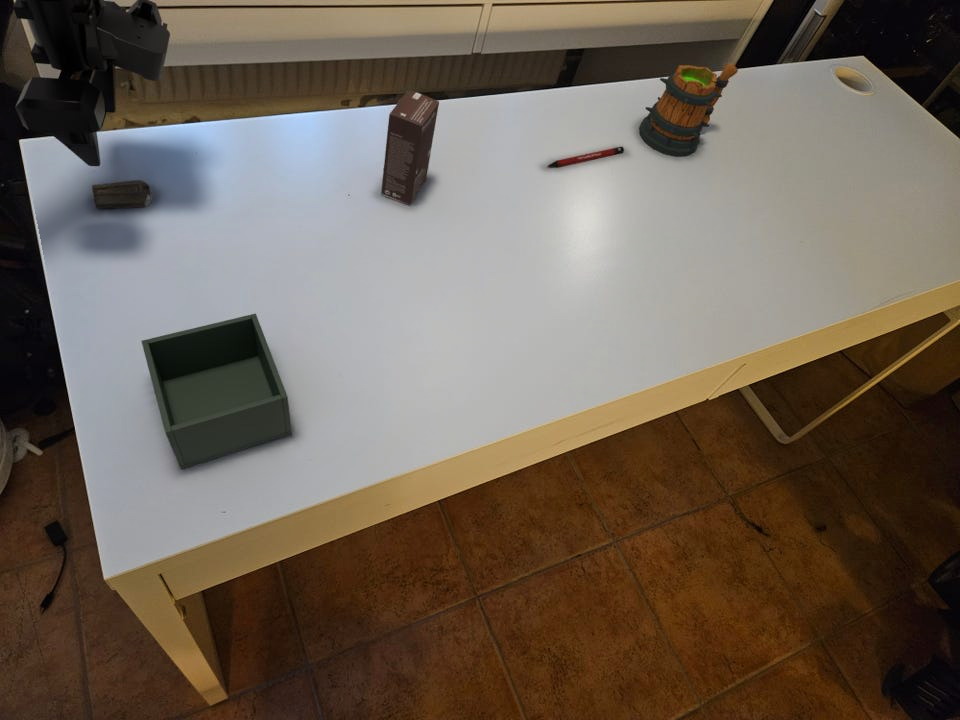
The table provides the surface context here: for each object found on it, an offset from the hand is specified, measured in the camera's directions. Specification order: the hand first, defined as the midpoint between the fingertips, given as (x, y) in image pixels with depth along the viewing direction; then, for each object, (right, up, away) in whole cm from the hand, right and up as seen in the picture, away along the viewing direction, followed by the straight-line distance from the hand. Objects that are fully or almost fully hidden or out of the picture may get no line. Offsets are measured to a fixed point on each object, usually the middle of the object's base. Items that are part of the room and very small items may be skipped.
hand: (102, 137), depth 70 cm
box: (+30, -1, +17) cm, 34 cm away
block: (-1, -5, +7) cm, 9 cm away
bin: (+15, -28, -7) cm, 33 cm away
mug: (+71, +12, +35) cm, 80 cm away
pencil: (+55, +6, +27) cm, 62 cm away
